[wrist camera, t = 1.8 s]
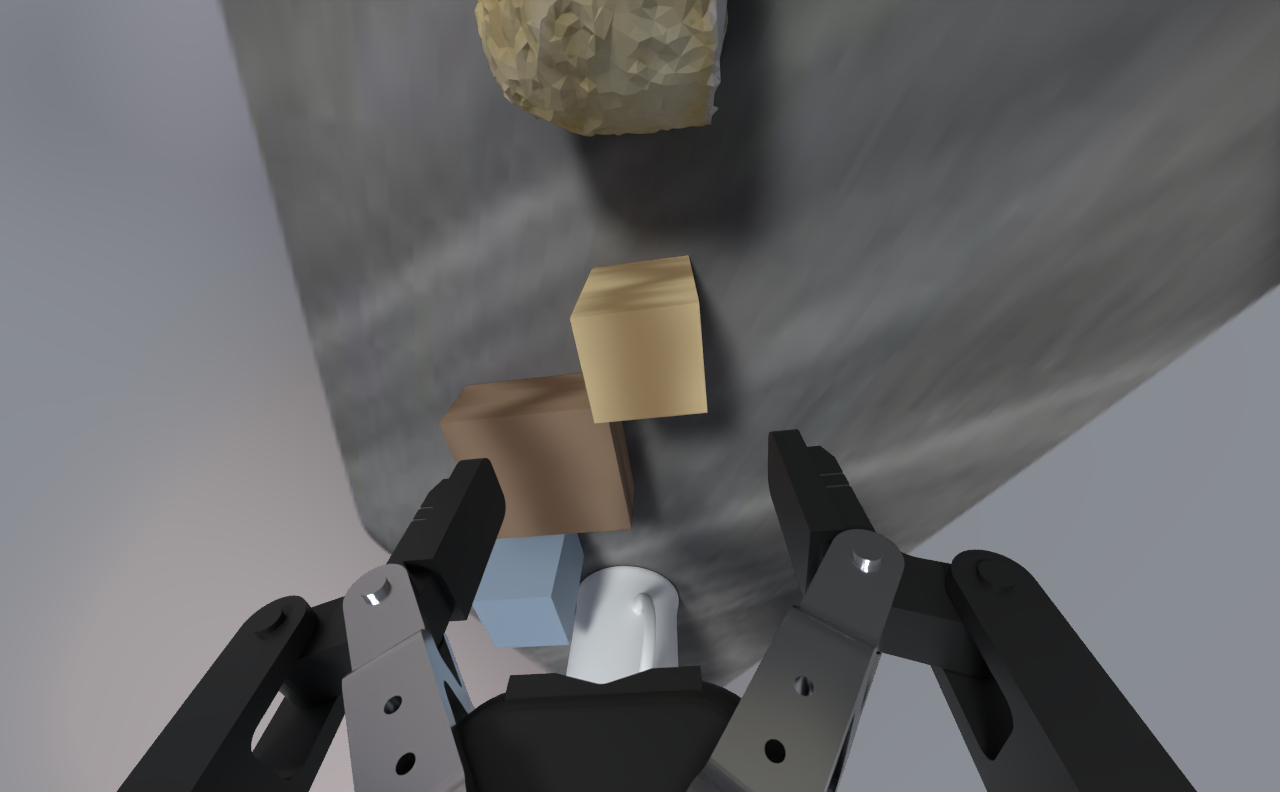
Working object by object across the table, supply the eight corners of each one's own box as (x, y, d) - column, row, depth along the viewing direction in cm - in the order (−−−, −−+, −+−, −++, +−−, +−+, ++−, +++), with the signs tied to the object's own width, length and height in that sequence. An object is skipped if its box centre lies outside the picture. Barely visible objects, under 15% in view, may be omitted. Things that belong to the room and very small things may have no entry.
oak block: (688, 255, 23) (699, 302, 17) (696, 344, 26) (707, 412, 20) (592, 268, 24) (570, 318, 18) (609, 353, 26) (594, 423, 20)
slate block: (570, 509, 33) (550, 596, 27) (584, 555, 35) (569, 644, 29) (504, 515, 33) (470, 601, 27) (522, 560, 36) (495, 648, 30)
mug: (607, 526, 33) (585, 705, 23) (712, 555, 35) (735, 737, 24) (564, 614, 39) (532, 788, 29) (656, 636, 41) (656, 810, 30)
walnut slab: (612, 369, 27) (605, 406, 23) (634, 484, 31) (631, 529, 28) (466, 385, 27) (439, 423, 24) (509, 494, 32) (491, 539, 29)
